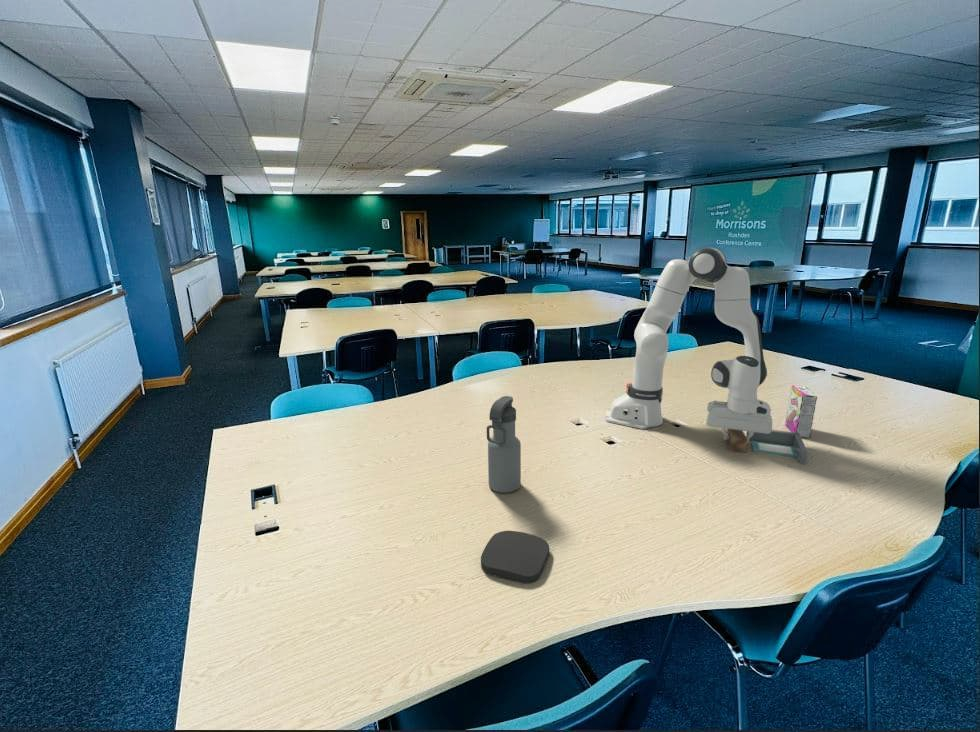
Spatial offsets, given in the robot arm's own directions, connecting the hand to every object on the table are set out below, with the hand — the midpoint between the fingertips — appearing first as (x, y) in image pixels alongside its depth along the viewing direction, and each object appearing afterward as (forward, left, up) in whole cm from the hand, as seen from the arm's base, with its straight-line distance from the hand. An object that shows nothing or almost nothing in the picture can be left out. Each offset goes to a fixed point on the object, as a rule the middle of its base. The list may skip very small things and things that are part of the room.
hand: (736, 440), depth 170 cm
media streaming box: (-53, -83, -3) cm, 98 cm away
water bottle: (-67, -53, -2) cm, 85 cm away
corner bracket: (+12, +1, -2) cm, 12 cm away
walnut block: (0, 0, -2) cm, 2 cm away
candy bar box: (+22, +21, -2) cm, 31 cm away
